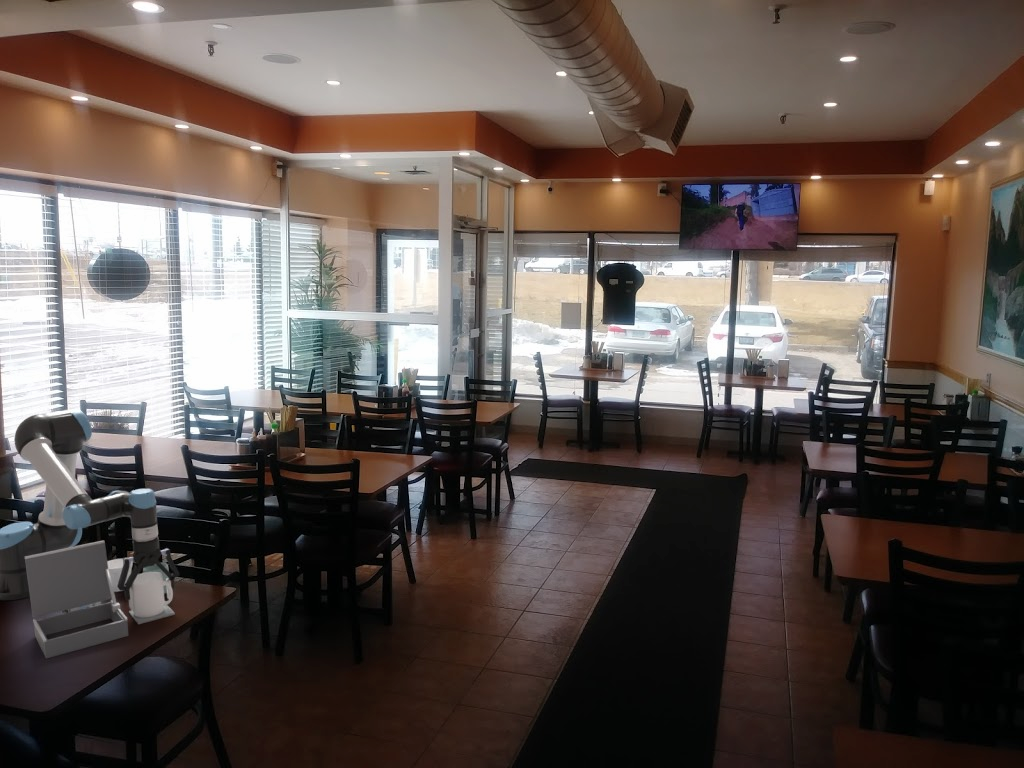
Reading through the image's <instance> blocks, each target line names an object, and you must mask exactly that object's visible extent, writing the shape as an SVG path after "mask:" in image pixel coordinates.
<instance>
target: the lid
mask: <svg viewBox="0 0 1024 768" xmlns="http://www.w3.org/2000/svg"><path fill="white" fill-rule="evenodd" d="M25 562H26V569H27V577H28V585H29V592H30V597H29V598H30V607H31V614H32V618H33V619H36V618H39V617H43V616H47V615H51V614H55V613H58V612H60V613H61V611H64V610H68V609H72V608H76V607H80V606H84V605H88V604H92V603H96V602H100V601H101V602H104V601H108V600H112V597H111V593H110V589H109V584H108V580H107V576H106V571H105V570H106V569H108V563H107V562H108V557H107V549H106V543H105V540H100V541H95V542H89V543H85V544H79V545H75V546H73V547H69V548H64V549H60V550H55V551H50V552H45V553H40V554H35V555H30V556H25Z"/></svg>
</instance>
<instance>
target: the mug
mask: <svg viewBox="0 0 1024 768" xmlns="http://www.w3.org/2000/svg"><path fill="white" fill-rule="evenodd" d="M164 585H167V586H168V587H169V589H170V598H169V599H167V600H165V594H164V588H163V586H164ZM131 589H132V591H133V602H134V610H133V614H134V615H135V616H136V617H139V618H148V617H153V616H156V615H158V614H160V613H162V612H163V611H164V609H165V605H169V604H170V603H171V602H172V601H173V596H174V592H173V589H172V587H171V585H170V584H169V583H168V582H166V581H163V575H162V574H161V573H158V572H148V573H143V572H142V573H138V575H137V577H136V579H135V580H134V582H133V584H132V586H131Z"/></svg>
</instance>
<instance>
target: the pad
mask: <svg viewBox="0 0 1024 768" xmlns="http://www.w3.org/2000/svg"><path fill="white" fill-rule="evenodd" d="M128 613H129V615H130V617H132V619H134V621H135V622H136V623H137V625H141V624H144V623H150V622H152V621H153V622H154V621H157V620H160V619H163V618H167V617H171V616H175V615H176V613H175V612H174V610H173V609H172V608H171V607H170V606H169V604H167V605H165V609H164V611H163V612H162V613H160V614H158V615H156V616H153V617H148V618H139V617H136V616H135V615H134V614H133V610H129V611H128Z"/></svg>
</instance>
